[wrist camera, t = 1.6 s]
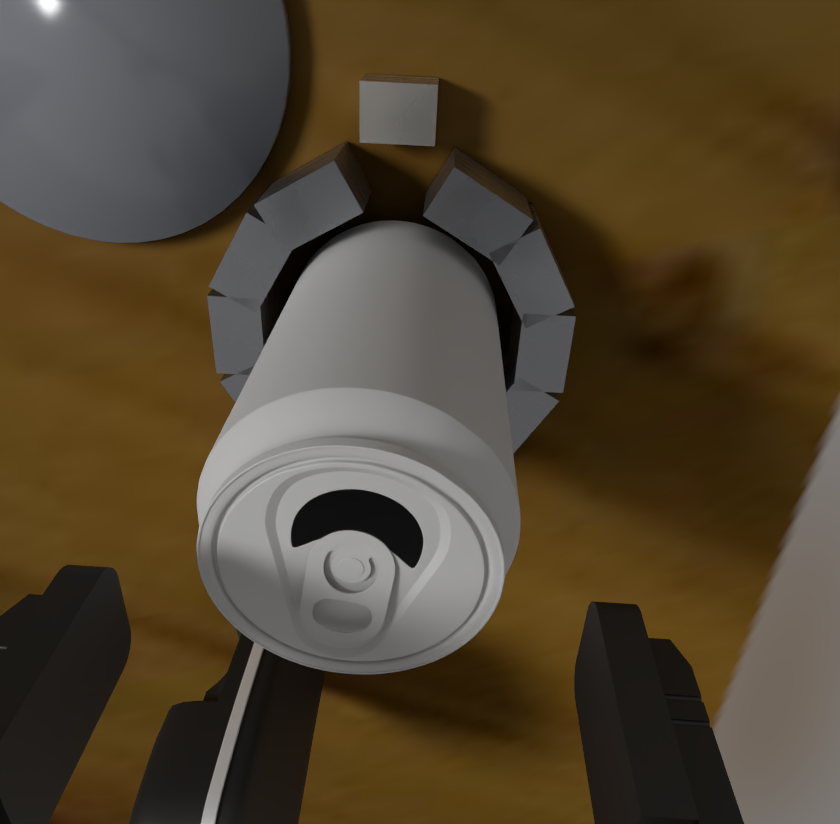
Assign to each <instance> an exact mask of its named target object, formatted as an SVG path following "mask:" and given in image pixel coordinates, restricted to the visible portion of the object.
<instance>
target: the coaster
mask: <svg viewBox="0 0 840 824" xmlns="http://www.w3.org/2000/svg"><path fill="white" fill-rule="evenodd" d="M291 63H292V46H291V36H290V26H289V17H288V12H287V8H286V3H285V0H0V201H1V202H2V203H4V204H6V205H7V206H9V207H10V208H12V209H14V210H15V211H17V212H18V213H20V214H22V215H24V216H26V217H28V218H30V219H32V220H34V221H36V222H38V223H40V224H42V225H45V226H47V227H50V228H53V229H56V230H58V231H61V232H64V233H67V234H70V235H74V236H78V237H82V238H86V239H91V240H97V241H106V242H114V243H140V242H147V241H153V240H160V239H165V238H168V237H171V236H175V235H178V234H182V233H184V232H187V231H189V230H191V229H193V228H195V227H197V226H200V225H202V224H204V223H205V222H207V221H208V220H210V219H211V218H213V217H214V216H216V215H217V214H219V213H221V212H222V211H223V210H224V209H225V208H227V207H228V206H229V205H230V204H231V203H232V202H233V201H234V200H235V199H236V198H238V197H239V196H240V195H241V194H242V193H243V192H244V191H245V189H246V188H247V187H248V186H249V184H250V183H251V182H252V181H253V179H254V178H255V177H256V176H257V175H258V173H259V172H260V170H261V169H262V167H263V165H264V163H265V162H266V160H267V158H268V157H269V155H270V153H271V152H272V149H273V147H274V144H275V142H276V140H277V137H278V135H279V132H280V130H281V127H282V123H283V119H284V116H285V112H286V108H287V104H288V97H289V90H290V83H291Z"/></svg>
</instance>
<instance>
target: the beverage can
mask: <svg viewBox="0 0 840 824" xmlns="http://www.w3.org/2000/svg"><path fill="white" fill-rule="evenodd" d="M197 512H198V520H199V525H200V527H199V531H198V537H197V544H196V550H197V561H198V567H199V571H200V575H201V578H202V581H203V583H204V586H205V588H206V590H207V592H208V594H209V596H210V597H211V599H212V601H213V602H214V604H215V605H216V607H217V608H218V609H219V611H220V612H221V613H222V614H223V615H224V617H225V618H226V619H227V620H228V621H229V622H230V623H231V624H232V625H233V626H234V627H235V628H236V629H238V630H239V631H240V632H241V633H242V634H244V635H245V636H246V637H248V638H249V639H250V640H252V641H253V642H255V643H256V644H258V645H260V646H261V647H263V648H265V649H266V650H268V651H270V652H272V653H274V654H276V655H278V656H280V657H282V658H285V659H287V660H290V661H293V662H295V663H298V664H301V665H304V666H307V667H311V668H316V669H320V670H325V671H330V672H337V673H346V674H383V673H391V672H398V671H403V670H408V669H412V668H416V667H419V666H422V665H426V664H428V663H431V662H434V661H436V660H438V659H440V658H443V657H445V656H447V655H448V654H450V653H452V652H454V651H455V650H457V649H458V648H460V647H461V646H463V645H464V644H466V643H467V642H468V641H469V640H471V639H472V638H473V637H474V636H475V635H476V634H477V633H478V632H479V631H480V630H481V629H482V628H483V626H484V625H485V624H486V623H487V621H488V620H489V619H490V617H491V616H492V614H493V612H494V610H495V608H496V606H497V604H498V602H499V600H500V597H501V594H502V590H503V585H504V578H505V575H506V573H507V571H508V569H509V567H510V566H511V563H512V561H513V559H514V557H515V554H516V551H517V547H518V542H519V537H520V507H519V499H518V490H517V482H516V473H515V465H514V456H513V448H512V439H511V431H510V422H509V413H508V405H507V396H506V388H505V379H504V371H503V362H502V354H501V345H500V337H499V328H498V320H497V311H496V304H495V299H494V295H493V291H492V289H491V286H490V284H489V281H488V279H487V277H486V275H485V273H484V272H483V270H482V268H481V267H480V265H479V264H478V263H477V261H476V260H475V259H474V258H473V257H472V256H471V255H470V254H469V253H468V252H467V251H466V250H465V249H464V248H463V247H462V246H460V245H459V244H458V243H457V242H456V241H454V240H453V239H452V238H450V237H449V236H447V235H445V234H443V233H441V232H439V231H437V230H435V229H433V228H430V227H427V226H424V225H421V224H417V223H413V222H406V221H396V220H387V221H375V222H370V223H366V224H362V225H358V226H355V227H353V228H350V229H348V230H346V231H344V232H342V233H340V234H338V235H336V236H335V237H333V238H332V239H331V240H329V241H328V242H327V243H325V244H324V245H323V246H322V247H321V248H320V249H319V250H318V251H317V252H316V253H315V254H314V255H313V256H312V258H311V259H310V260H309V262H308V263H307V265H306V266H305V268H304V269H303V271H302V273H301V275H300V277H299V279H298V281H297V283H296V285H295V287H294V289H293V291H292V293H291V295H290V297H289V299H288V301H287V303H286V305H285V307H284V309H283V311H282V312H281V314H280V316H279V318H278V320H277V322H276V324H275V326H274V328H273V330H272V332H271V334H270V336H269V338H268V340H267V342H266V344H265V346H264V348H263V350H262V352H261V354H260V356H259V358H258V360H257V362H256V364H255V366H254V368H253V370H252V372H251V374H250V376H249V377H248V379H247V381H246V383H245V385H244V387H243V389H242V391H241V393H240V395H239V397H238V399H237V401H236V403H235V405H234V407H233V409H232V411H231V413H230V415H229V417H228V419H227V421H226V423H225V425H224V427H223V429H222V431H221V433H220V435H219V437H218V439H217V441H216V442H215V444H214V446H213V448H212V450H211V452H210V454H209V456H208V458H207V461H206V463H205V466H204V468H203V470H202V473H201V476H200V480H199V486H198V492H197Z"/></svg>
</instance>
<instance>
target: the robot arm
mask: <svg viewBox="0 0 840 824" xmlns="http://www.w3.org/2000/svg"><path fill="white" fill-rule="evenodd" d="M130 644H131V630H130V625H129V621H128V617H127V613H126V608H125V604H124V600H123V596H122V591H121V587H120V583H119V579H118V575H117V573H116V571H115V570H114V569H113V568H109V567H94V566H79V565H66V566H64V567H63V568H62V569H60V571H59V572H58V573H57V575H56V576H55V577H54V579H53V580H52V582H51V583H50V585H49V586H48V588H47V589H46V591H45V592H44V594H43V595H33V594H29V595H27V596H26V597H25V598H23V599H22V600H21V601H19V602H18V603H17V604H16V605H14V606H13V607H12V608H10V609H9V610H8V611H7V612H5V613H4V614H3V615H1V616H0V824H48V822H49V820H50V818H51V816H52V814H53V812H54V810H55V808H56V806H57V804H58V802H59V800H60V798H61V796H62V794H63V792H64V790H65V788H66V785H67V783H68V781H69V779H70V777H71V775H72V773H73V771H74V769H75V767H76V765H77V763H78V761H79V759H80V757H81V755H82V753H83V751H84V749H85V747H86V745H87V743H88V741H89V739H90V737H91V735H92V733H93V730H94V728H95V726H96V724H97V722H98V720H99V718H100V716H101V714H102V712H103V710H104V708H105V706H106V704H107V702H108V700H109V698H110V696H111V694H112V692H113V690H114V688H115V686H116V684H117V682H118V680H119V678H120V675H121V673H122V671H123V669H124V667H125V665H126V662H127V659H128V655H129V651H130ZM575 700H576V707H577V713H578V719H579V726H580V732H581V738H582V745H583V751H584V757H585V764H586V770H587V776H588V783H589V789H590V795H591V802H592V808H593V815H594V821H595V824H744V822H743V820H742V817H741V814H740V811H739V808H738V805H737V802H736V799H735V796H734V793H733V790H732V787H731V784H730V781H729V778H728V775H727V772H726V769H725V766H724V763H723V760H722V757H721V754H720V751H719V748H718V745H717V742H716V739H715V736H714V733H713V730H712V728H710V725H709V722H710V721H709V718H708V715H707V712H706V709H705V706H704V703H703V702H702V701H701V694H700V691H699V688H698V685H697V682H696V679H695V676H694V673H693V670H692V667H691V665H690V664H689V663H688V662H687V660H686V659H685V658H684V657H683V655H682V654H681V653H680V652H679V650H678V649H677V648H676V647H675V645H674V644H673V643H672V642H671V640H669V639H655V638H648V635H647V632H646V628H645V625H644V621H643V618H642V614H641V611H640V609H639V607H638V606H637V605H636V604H621V603H606V602H591V603H590V605H589V607H588V611H587V615H586V620H585V624H584V629H583V633H582V638H581V642H580V646H579V651H578V655H577V660H576V666H575Z"/></svg>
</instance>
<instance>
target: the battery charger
mask: <svg viewBox="0 0 840 824" xmlns="http://www.w3.org/2000/svg"><path fill="white" fill-rule="evenodd" d="M236 630H237V633H238V637H239V642H238V645H237V647H236V650H235V653H234V656H233V658H232V661H231V664H230V667H229V670H228V672H227V673H226V675H225V676H224V677H223V678H222V679H221V680H220V681H219V682H218V683H217V684H215V685H214V686H213V687H212V688H211V689H209V690H208V691H207V692H206V694H205V697H204V700H203V701H192V702H183V703H179V704H176V705H173V706H172V708H171V709H170V710H169V711H168V714H167V716H166V719H165V721H164V723H163V725H162V728H161V730H160V732H159V734H158V737H157V739H156V741H155V744H154V747H153V750H152V753H151V755H150V758H149V761H148V764H147V767H146V770H145V773H144V776H143V779H142V782H141V785H140V788H139V791H138V794H137V798H136V801H135V804H134V807H133V811H132V815H131V818H130V822H129V824H298V821H299V816H300V810H301V804H302V798H303V793H304V787H305V781H306V775H307V769H308V763H309V757H310V751H311V745H312V740H313V734H314V728H315V723H316V718H317V713H318V707H319V702H320V697H321V692H322V686H323V672H322V670H320V669H316V668H311V667H307V666H304V665H301V664H298V663H295V662H293V661H290V660H287V659H285V658H282V657H280V656H278V655H276V654H274V653H272V652H270V651H268V650H266V649H265V648H263V647H261V646H260V645H258V644H256V643H255V642H253V641H252V640H250V639H249V638H248V637H246V636H245V635H244V634H242V633H241V632H240V631H239V630H238V629H236Z"/></svg>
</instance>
